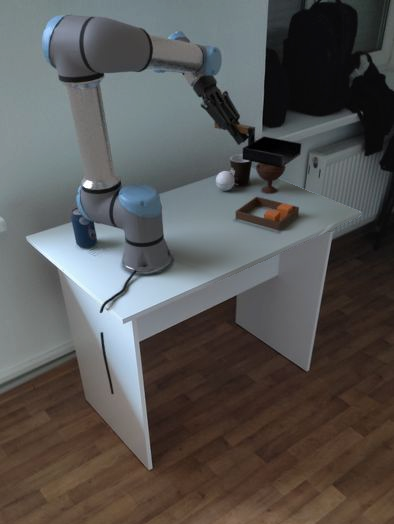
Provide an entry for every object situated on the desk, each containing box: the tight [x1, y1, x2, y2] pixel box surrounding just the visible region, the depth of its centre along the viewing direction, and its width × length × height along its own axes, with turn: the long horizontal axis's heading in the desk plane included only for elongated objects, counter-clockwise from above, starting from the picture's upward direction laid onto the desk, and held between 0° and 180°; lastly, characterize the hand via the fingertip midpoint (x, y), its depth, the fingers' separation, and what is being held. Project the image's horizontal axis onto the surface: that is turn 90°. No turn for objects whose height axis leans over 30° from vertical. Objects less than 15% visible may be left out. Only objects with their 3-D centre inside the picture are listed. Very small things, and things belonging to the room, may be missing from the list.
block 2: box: [276, 202, 294, 220], centre depth 176 cm, size 4×4×4 cm
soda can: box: [70, 207, 98, 250], centre depth 164 cm, size 7×7×12 cm
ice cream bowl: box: [255, 163, 286, 194], centre depth 191 cm, size 11×11×15 cm
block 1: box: [263, 208, 281, 222], centre depth 172 cm, size 4×4×4 cm
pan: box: [214, 121, 302, 168], centre depth 164 cm, size 29×13×8 cm, turn 54°
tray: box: [235, 196, 300, 232], centre depth 177 cm, size 17×14×4 cm
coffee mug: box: [229, 153, 253, 188], centre depth 200 cm, size 12×9×10 cm
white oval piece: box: [215, 170, 235, 192], centre depth 195 cm, size 10×7×7 cm
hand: (243, 141), depth 166 cm, fingers closed on pan, 2 cm apart
